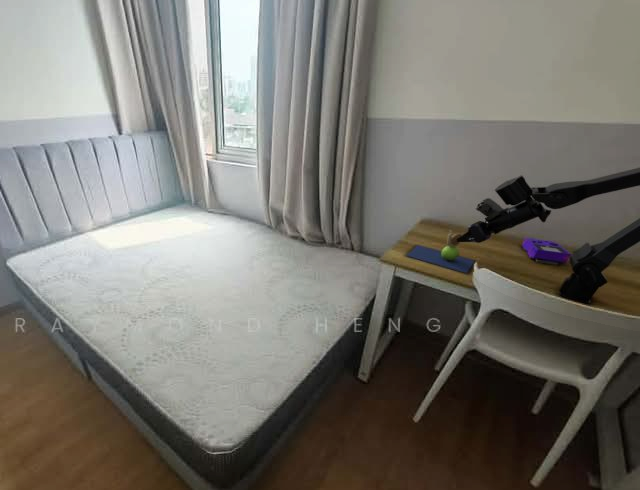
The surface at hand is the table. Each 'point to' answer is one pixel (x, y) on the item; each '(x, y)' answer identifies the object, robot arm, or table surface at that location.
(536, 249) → the handheld gaming console
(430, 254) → the navy cloth
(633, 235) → the robot arm
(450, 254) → the snail figurine
